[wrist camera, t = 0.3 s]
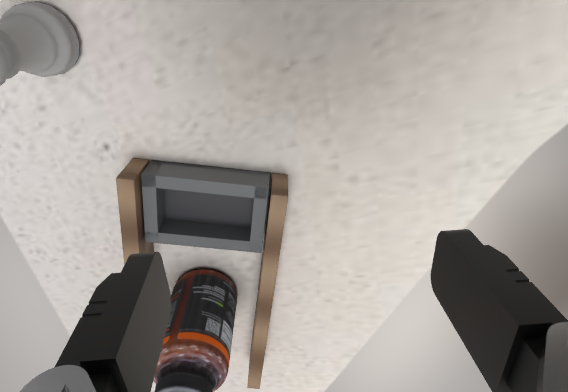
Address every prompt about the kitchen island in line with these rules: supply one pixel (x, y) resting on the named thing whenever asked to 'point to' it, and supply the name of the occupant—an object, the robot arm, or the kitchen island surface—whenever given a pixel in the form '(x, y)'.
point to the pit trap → (204, 206)
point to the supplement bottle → (197, 334)
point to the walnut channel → (135, 243)
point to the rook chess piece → (36, 41)
